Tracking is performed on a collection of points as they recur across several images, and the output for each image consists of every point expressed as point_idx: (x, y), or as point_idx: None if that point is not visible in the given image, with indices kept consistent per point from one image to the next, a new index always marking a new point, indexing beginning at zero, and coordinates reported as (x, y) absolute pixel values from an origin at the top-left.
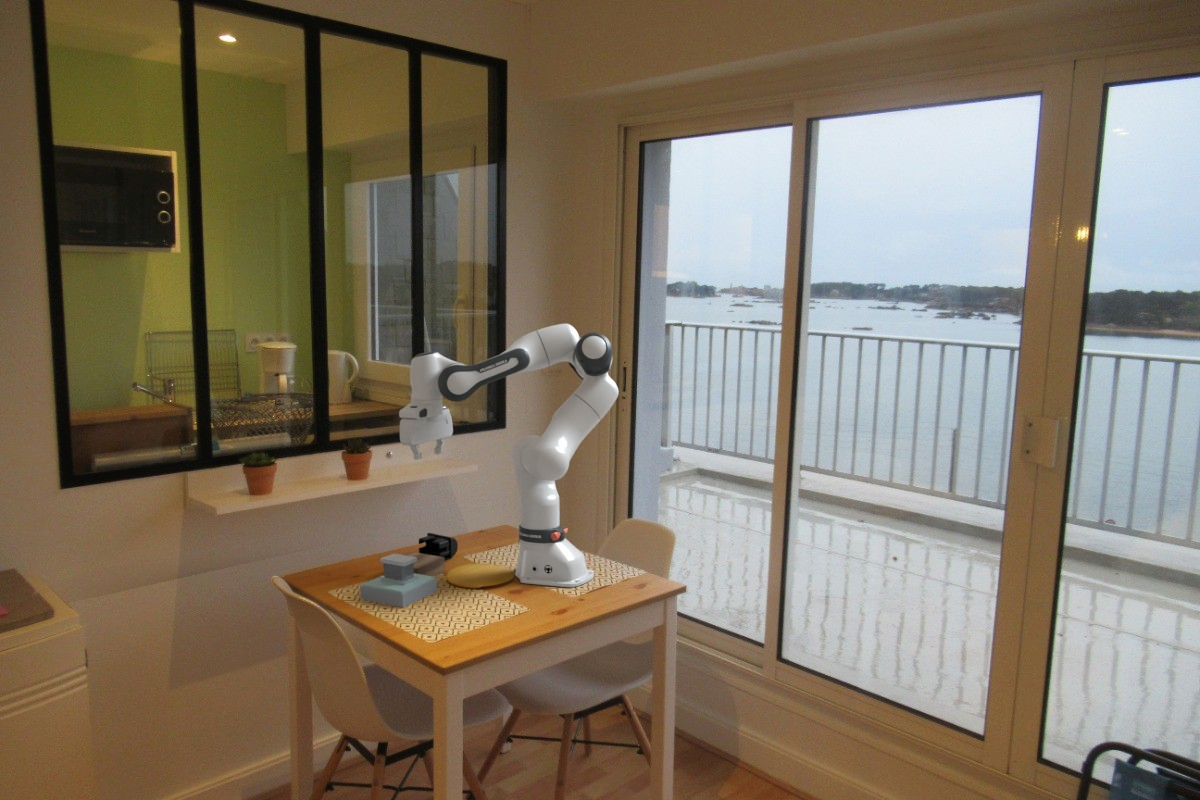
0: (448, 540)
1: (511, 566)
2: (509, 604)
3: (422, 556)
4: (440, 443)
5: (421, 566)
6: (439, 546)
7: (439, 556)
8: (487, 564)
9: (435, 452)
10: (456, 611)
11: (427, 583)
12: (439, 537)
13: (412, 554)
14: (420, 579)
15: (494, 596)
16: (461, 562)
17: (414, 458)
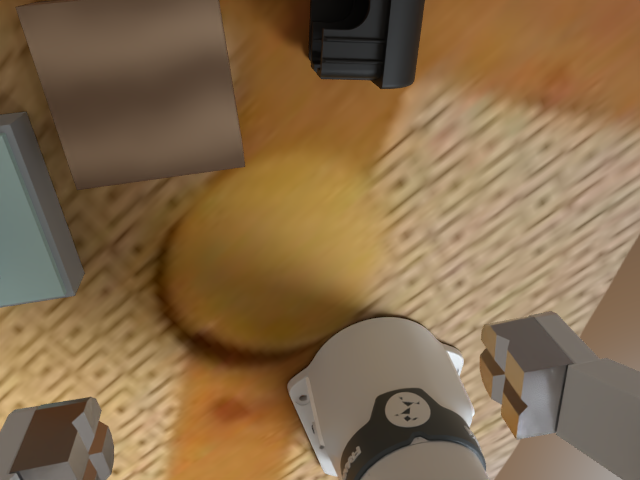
0: (375, 76)
1: (394, 278)
2: (150, 451)
3: (198, 86)
4: (633, 456)
5: (106, 181)
6: (318, 72)
7: (311, 63)
8: (376, 212)
9: (492, 346)
10: (20, 408)
11: (21, 303)
12: (387, 11)
13: (191, 24)
14: (9, 283)
15: (167, 399)
16: (350, 127)
17: (16, 420)
